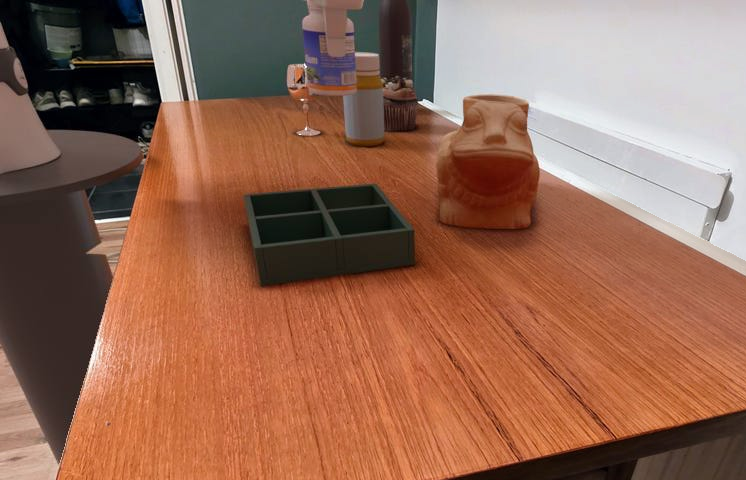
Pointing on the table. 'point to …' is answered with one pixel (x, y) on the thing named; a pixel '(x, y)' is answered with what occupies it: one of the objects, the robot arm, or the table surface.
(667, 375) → the table surface
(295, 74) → the wineglass
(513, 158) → the ceramic vessel
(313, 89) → the pill bottle
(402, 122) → the cupcake
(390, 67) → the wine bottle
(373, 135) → the bottle
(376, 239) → the organiser
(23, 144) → the robot arm
